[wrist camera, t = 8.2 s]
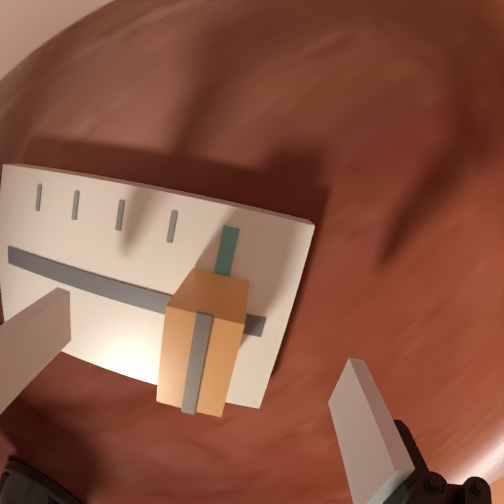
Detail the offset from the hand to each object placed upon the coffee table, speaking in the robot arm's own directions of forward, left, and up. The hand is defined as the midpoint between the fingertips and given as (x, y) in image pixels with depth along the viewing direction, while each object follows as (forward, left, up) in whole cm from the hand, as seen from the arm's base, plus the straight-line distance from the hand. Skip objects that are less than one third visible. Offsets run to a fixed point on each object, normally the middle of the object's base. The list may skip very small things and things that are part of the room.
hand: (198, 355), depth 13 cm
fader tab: (0, 0, -4) cm, 4 cm away
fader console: (0, +6, -6) cm, 8 cm away
